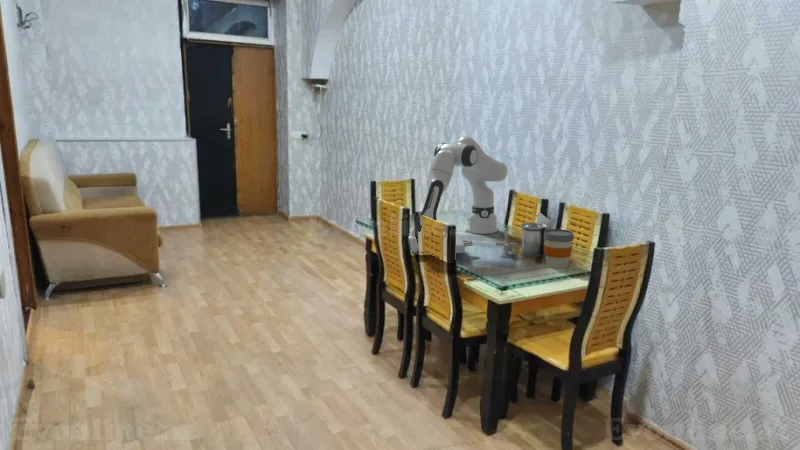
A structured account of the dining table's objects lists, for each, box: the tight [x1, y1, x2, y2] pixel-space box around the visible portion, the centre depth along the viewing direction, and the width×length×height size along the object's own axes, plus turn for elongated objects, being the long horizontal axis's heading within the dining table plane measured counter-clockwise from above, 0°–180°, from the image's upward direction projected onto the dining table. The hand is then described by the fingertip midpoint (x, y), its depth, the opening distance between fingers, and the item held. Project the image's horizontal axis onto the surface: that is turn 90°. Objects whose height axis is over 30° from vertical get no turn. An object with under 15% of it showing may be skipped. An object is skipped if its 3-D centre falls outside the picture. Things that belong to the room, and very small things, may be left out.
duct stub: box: [520, 211, 552, 260], centre depth 260 cm, size 20×11×18 cm, turn 1°
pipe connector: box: [495, 232, 518, 256], centre depth 261 cm, size 10×10×10 cm
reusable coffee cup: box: [544, 228, 575, 270], centre depth 242 cm, size 12×13×15 cm
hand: (472, 243), depth 260 cm, fingers closed
